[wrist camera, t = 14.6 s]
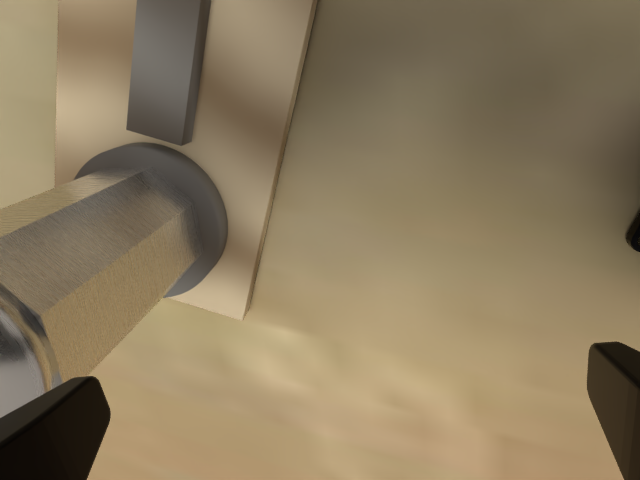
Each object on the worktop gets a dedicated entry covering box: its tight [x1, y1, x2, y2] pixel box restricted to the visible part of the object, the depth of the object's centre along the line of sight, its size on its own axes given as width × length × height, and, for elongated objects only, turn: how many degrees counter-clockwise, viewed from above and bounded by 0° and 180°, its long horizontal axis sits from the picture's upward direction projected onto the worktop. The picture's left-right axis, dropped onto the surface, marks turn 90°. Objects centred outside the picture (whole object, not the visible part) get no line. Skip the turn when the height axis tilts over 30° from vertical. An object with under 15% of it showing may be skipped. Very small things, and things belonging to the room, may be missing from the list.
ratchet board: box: [55, 0, 318, 321], centre depth 18 cm, size 20×10×5 cm, turn 166°
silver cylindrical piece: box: [0, 167, 203, 418], centre depth 16 cm, size 6×6×10 cm
